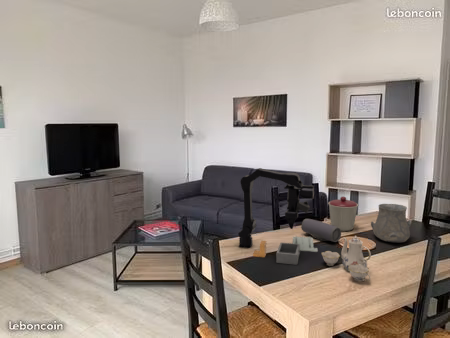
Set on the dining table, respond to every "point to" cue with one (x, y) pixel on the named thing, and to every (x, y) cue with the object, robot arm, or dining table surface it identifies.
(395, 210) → the vessel
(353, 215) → the canister
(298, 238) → the metal bracket
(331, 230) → the bluetooth speaker
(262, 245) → the wood grain brick
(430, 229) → the dining table surface
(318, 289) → the dining table surface
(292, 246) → the open box
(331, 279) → the dining table surface
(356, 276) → the chinaware
